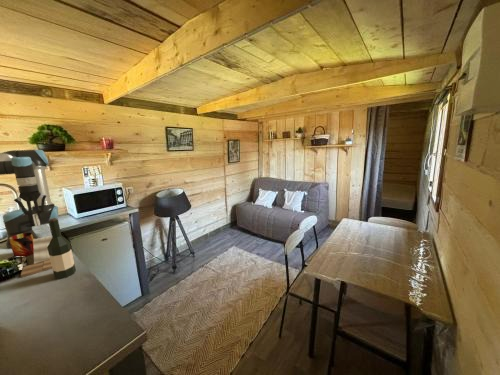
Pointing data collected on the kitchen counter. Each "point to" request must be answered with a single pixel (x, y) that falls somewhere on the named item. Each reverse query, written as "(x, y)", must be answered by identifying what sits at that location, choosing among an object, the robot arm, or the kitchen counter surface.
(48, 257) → the plank
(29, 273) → the floorboard
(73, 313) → the kitchen counter surface
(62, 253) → the wine bottle
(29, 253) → the mug
